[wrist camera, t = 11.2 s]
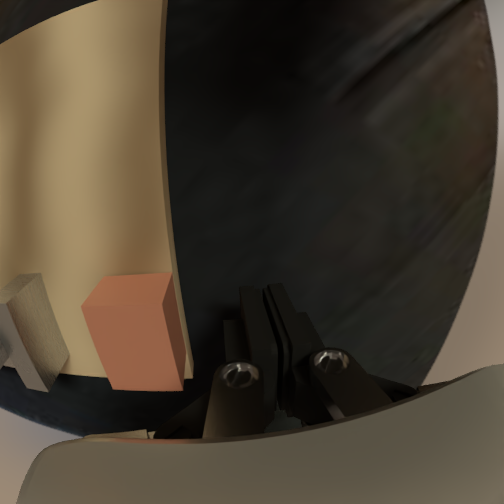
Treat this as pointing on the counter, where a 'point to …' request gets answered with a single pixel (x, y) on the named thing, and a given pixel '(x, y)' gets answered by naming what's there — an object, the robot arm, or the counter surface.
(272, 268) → the counter surface
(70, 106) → the board
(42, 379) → the base
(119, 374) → the tab
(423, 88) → the counter surface
